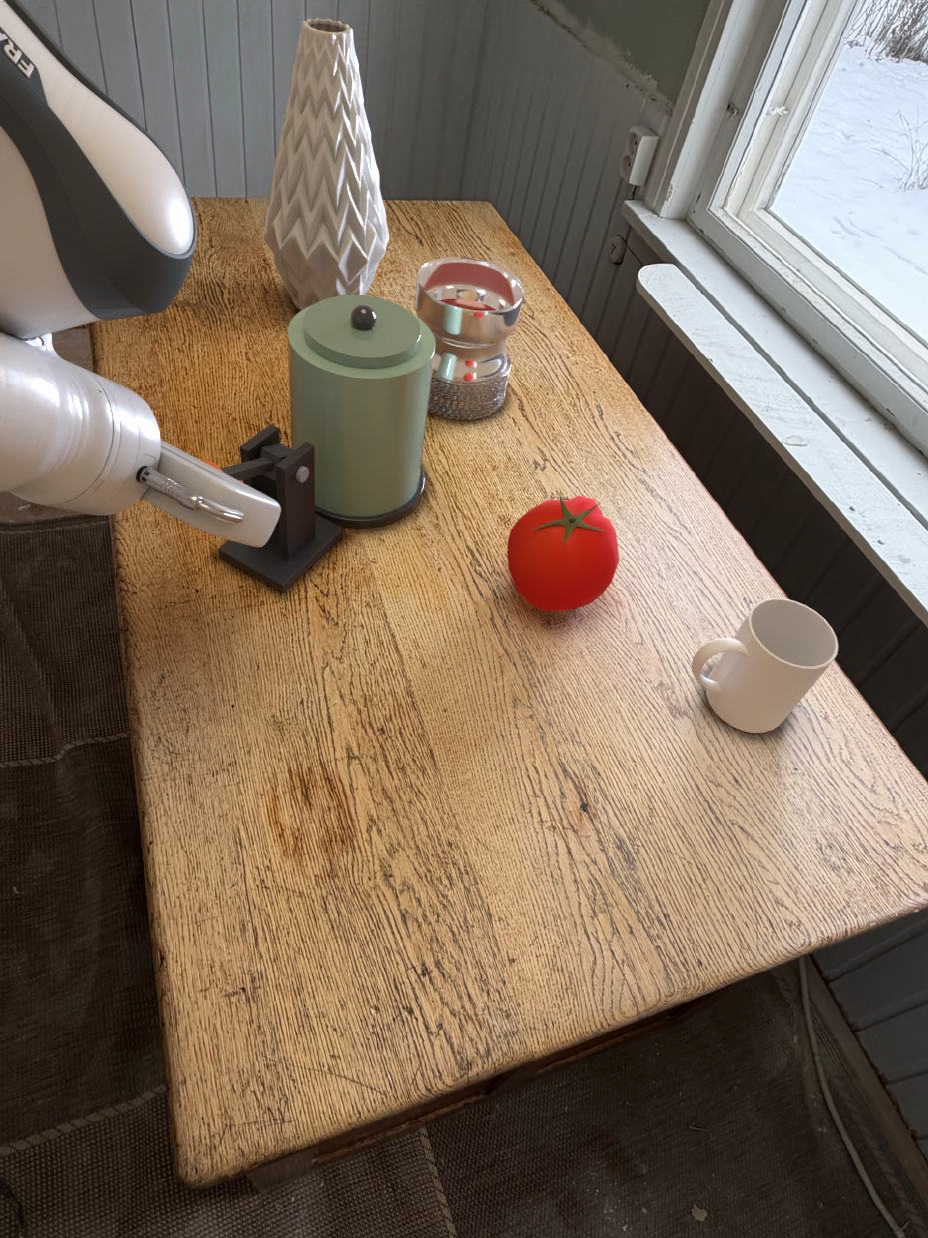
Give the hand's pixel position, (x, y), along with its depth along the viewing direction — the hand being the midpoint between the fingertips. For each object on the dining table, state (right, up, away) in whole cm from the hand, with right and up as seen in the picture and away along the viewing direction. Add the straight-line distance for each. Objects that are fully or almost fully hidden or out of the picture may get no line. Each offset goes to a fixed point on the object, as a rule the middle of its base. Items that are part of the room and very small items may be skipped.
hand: (208, 483), depth 64 cm
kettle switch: (+1, 0, +4) cm, 4 cm away
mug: (+46, -19, +11) cm, 51 cm away
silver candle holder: (+19, +21, +40) cm, 49 cm away
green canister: (+9, +4, +24) cm, 26 cm away
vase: (+1, +34, +48) cm, 58 cm away
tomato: (+30, -8, +18) cm, 36 cm away
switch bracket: (+2, -4, +16) cm, 17 cm away
